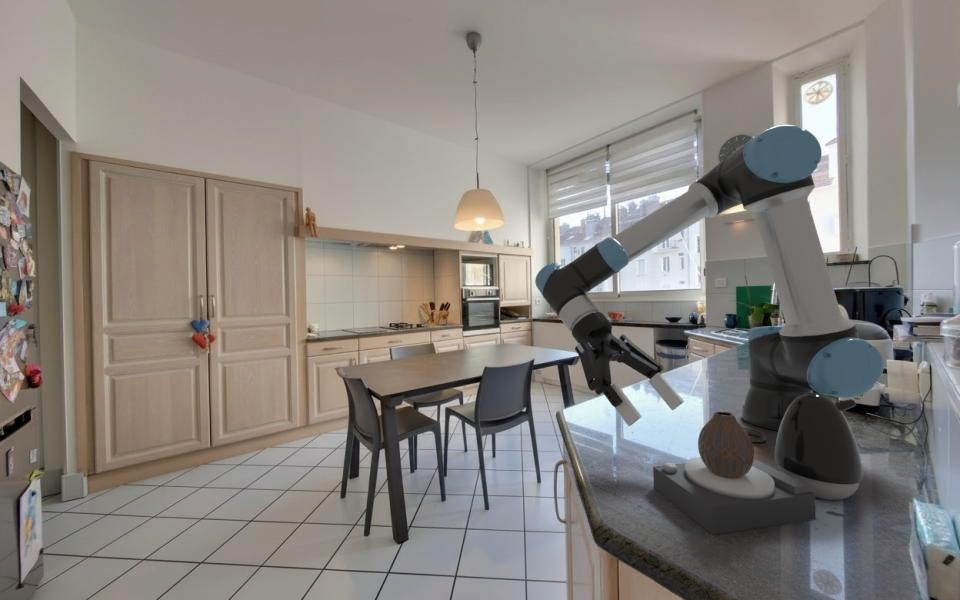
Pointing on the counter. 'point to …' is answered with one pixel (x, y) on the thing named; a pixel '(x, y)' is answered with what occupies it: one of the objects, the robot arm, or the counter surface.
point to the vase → (725, 446)
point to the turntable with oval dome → (735, 496)
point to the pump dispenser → (819, 446)
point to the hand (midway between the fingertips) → (658, 413)
